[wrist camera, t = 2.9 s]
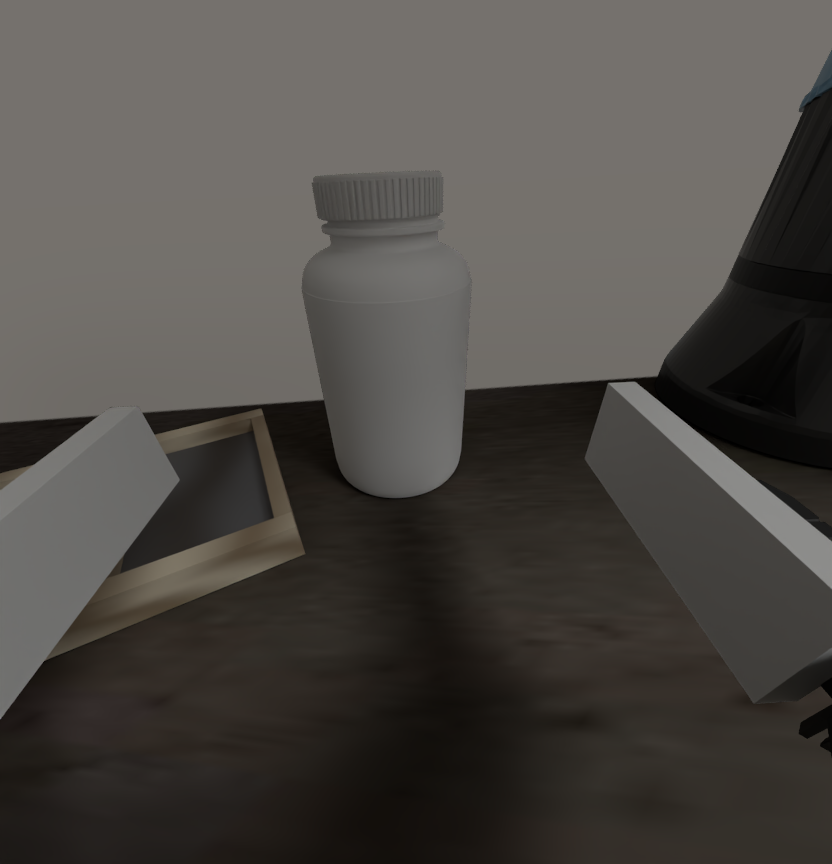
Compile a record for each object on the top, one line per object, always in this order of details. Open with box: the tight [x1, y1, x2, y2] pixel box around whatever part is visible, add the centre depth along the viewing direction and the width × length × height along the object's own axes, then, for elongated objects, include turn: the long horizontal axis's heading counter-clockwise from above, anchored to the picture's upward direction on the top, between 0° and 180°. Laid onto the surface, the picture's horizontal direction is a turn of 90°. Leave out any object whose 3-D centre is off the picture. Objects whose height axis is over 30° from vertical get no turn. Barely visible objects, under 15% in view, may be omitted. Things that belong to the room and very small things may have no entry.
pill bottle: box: [302, 171, 471, 498], centre depth 19 cm, size 8×8×15 cm
